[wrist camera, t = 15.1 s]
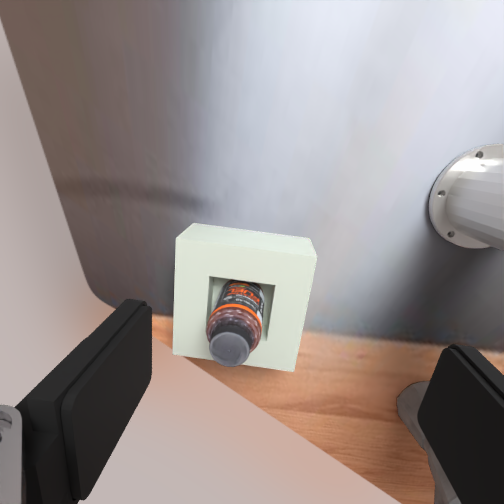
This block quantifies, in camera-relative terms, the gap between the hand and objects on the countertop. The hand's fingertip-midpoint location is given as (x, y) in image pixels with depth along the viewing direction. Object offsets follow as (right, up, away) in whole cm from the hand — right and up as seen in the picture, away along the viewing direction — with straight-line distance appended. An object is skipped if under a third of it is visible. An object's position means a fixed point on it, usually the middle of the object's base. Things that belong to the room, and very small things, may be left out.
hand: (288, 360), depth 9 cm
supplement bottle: (-2, -2, +29) cm, 29 cm away
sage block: (-2, -1, +33) cm, 33 cm away
